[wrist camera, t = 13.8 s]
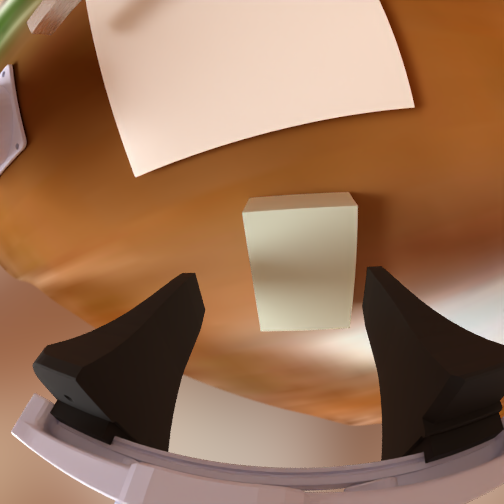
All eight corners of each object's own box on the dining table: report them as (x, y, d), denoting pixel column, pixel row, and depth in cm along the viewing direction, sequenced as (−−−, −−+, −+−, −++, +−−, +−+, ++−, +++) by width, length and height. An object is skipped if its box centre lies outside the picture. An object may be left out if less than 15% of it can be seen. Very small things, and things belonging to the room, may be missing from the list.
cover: (265, 303, 17) (260, 331, 15) (250, 195, 14) (242, 212, 12) (344, 300, 16) (349, 327, 14) (347, 189, 13) (357, 205, 11)
